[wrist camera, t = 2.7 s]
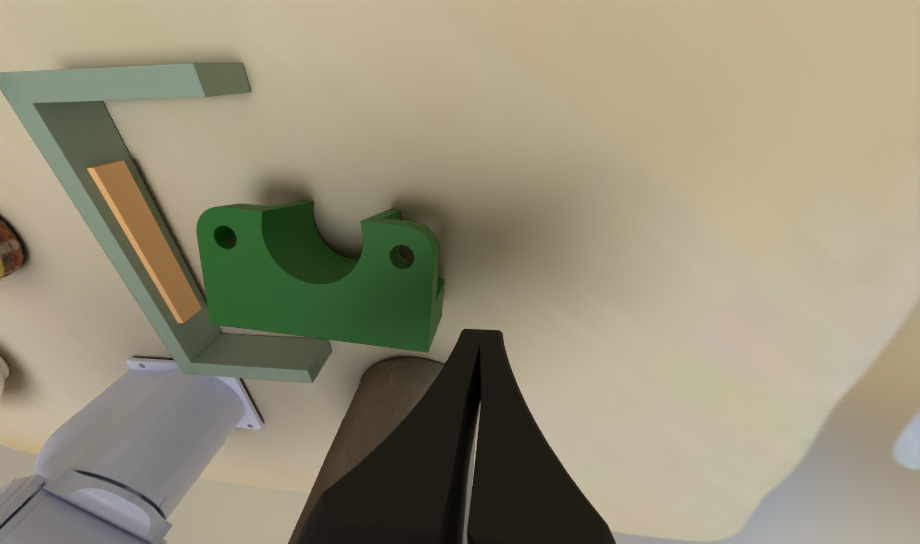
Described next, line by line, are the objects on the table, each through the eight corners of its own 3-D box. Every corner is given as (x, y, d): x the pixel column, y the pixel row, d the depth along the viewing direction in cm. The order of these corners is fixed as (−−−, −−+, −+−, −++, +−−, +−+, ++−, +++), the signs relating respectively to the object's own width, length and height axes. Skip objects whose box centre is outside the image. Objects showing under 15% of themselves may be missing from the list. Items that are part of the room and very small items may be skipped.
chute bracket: (213, 344, 27) (183, 373, 24) (65, 71, 17) (-11, 72, 15) (331, 351, 26) (312, 383, 23) (242, 63, 16) (192, 63, 14)
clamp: (429, 203, 23) (474, 230, 15) (425, 285, 25) (462, 349, 17) (225, 193, 20) (139, 221, 11) (236, 290, 21) (169, 375, 13)
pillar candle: (343, 407, 29) (220, 677, 16) (385, 334, 24) (254, 641, 11) (445, 449, 31) (404, 723, 18) (503, 389, 26) (504, 710, 13)
